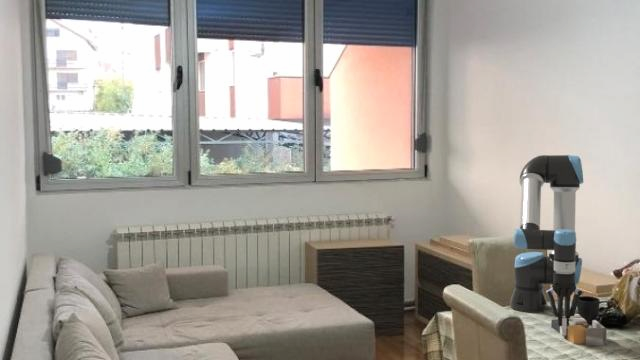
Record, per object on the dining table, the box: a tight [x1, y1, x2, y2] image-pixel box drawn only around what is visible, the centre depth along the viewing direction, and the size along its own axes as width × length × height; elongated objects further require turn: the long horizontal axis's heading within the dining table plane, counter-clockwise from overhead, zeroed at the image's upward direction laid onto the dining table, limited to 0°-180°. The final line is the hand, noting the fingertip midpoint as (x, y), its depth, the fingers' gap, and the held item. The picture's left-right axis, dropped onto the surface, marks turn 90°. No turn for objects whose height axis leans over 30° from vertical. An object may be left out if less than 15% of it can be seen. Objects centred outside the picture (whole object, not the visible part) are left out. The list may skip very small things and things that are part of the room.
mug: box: [576, 295, 611, 325], centre depth 275 cm, size 8×12×10 cm
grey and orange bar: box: [550, 318, 586, 345], centre depth 261 cm, size 19×5×5 cm, turn 5°
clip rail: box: [569, 313, 608, 346], centre depth 260 cm, size 22×7×6 cm, turn 179°
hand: (563, 334), depth 259 cm, fingers closed
